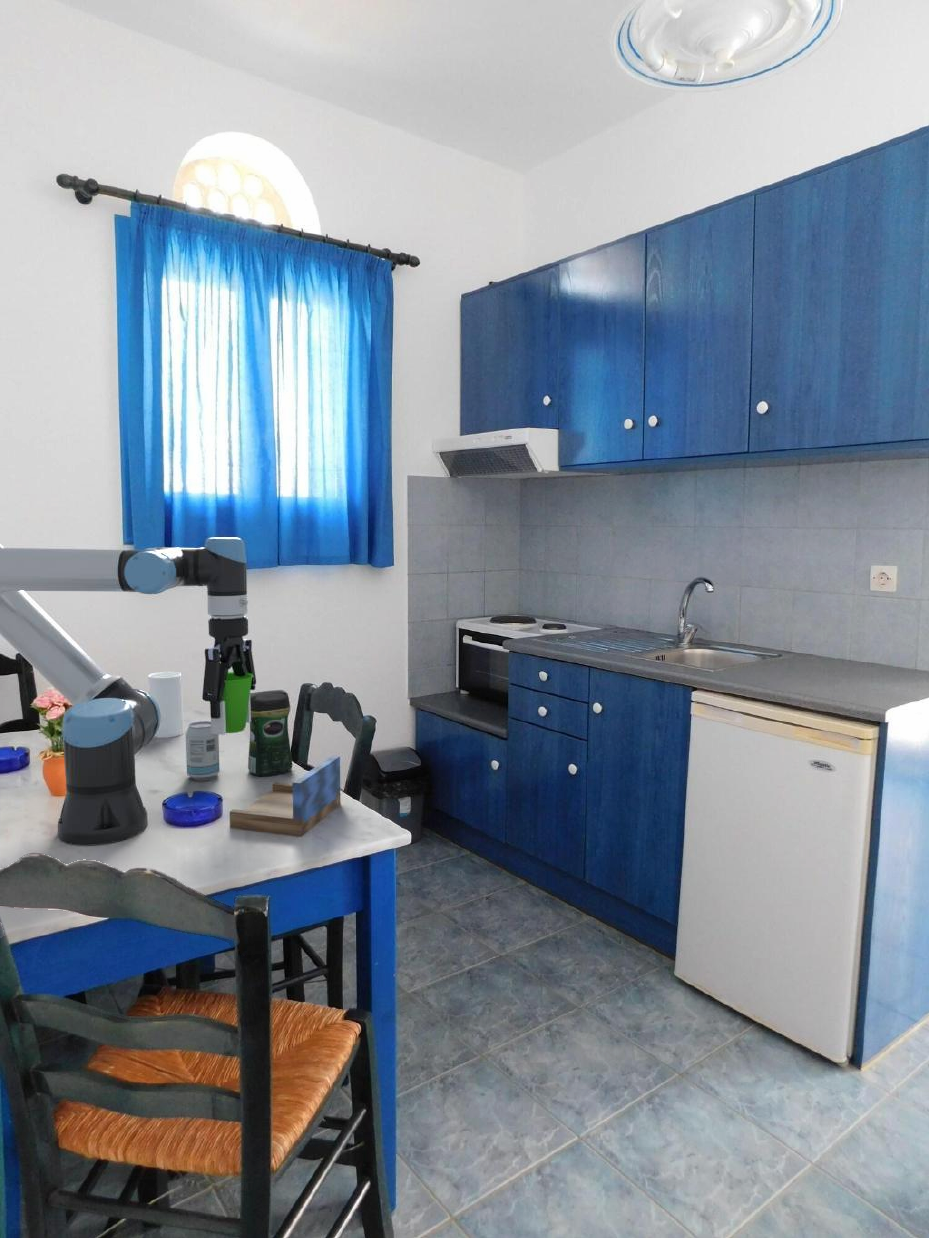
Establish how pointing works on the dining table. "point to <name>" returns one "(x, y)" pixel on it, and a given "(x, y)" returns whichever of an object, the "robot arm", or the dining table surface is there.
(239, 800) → the dining table surface
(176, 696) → the cup
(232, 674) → the cup
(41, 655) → the robot arm
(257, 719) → the coffee jar
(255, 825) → the wooden display stand
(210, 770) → the beverage can
